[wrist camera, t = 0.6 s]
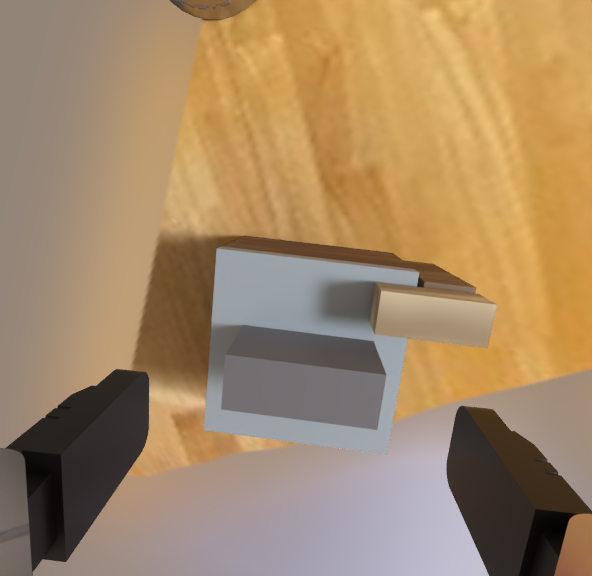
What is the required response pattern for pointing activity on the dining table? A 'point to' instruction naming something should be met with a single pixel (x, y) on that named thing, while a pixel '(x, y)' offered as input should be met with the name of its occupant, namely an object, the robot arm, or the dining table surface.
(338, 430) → the lid
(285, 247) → the toolbox
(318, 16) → the dining table surface
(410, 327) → the wooden key
